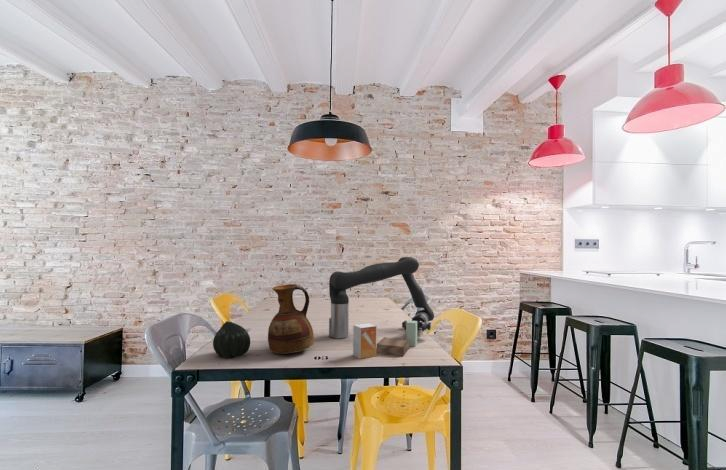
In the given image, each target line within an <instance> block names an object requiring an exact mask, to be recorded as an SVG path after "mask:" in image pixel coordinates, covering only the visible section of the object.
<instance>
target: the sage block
mask: <svg viewBox="0 0 726 470" xmlns="http://www.w3.org/2000/svg"><path fill="white" fill-rule="evenodd" d="M406 321H407V322H406V330H405V339H407V340H409V347H414V348H416V346H417V345H418V330H417V321H412V320H406Z"/></svg>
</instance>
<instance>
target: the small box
mask: <svg viewBox="0 0 726 470" xmlns="http://www.w3.org/2000/svg"><path fill="white" fill-rule="evenodd" d="M352 327H353V328H352V331H353V334H352V336H353V337H352V340H353V342H352V344H353V345H352V355H353V356H354V357H356V358H358V359H361V360H362V359H366V358H372V357H376V356H377V325H374V324H372V323H361V324H353V326H352Z"/></svg>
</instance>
